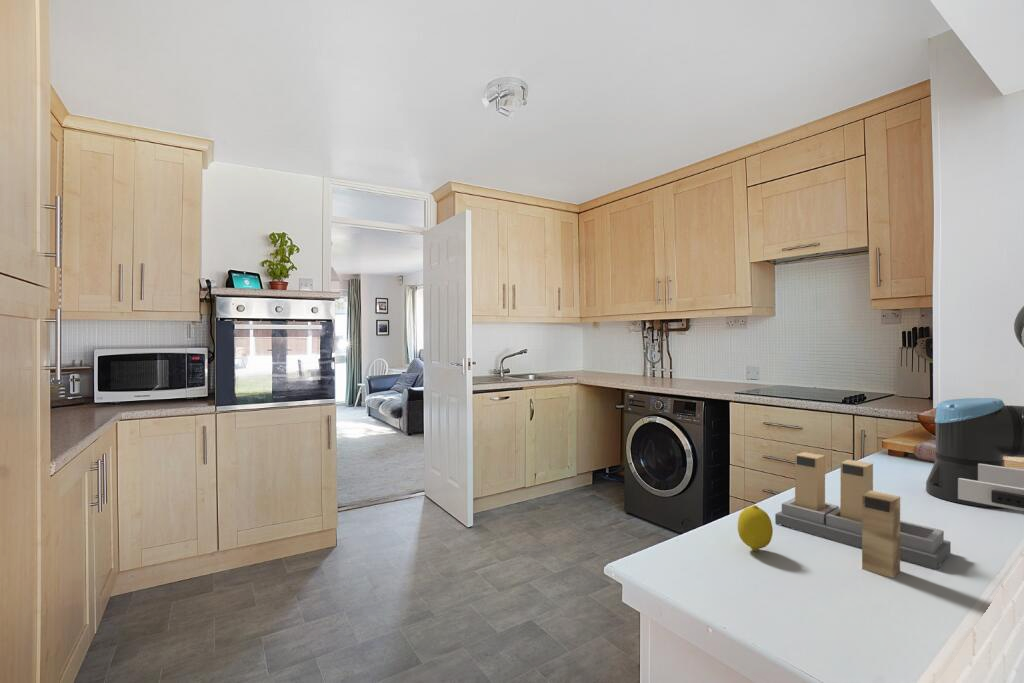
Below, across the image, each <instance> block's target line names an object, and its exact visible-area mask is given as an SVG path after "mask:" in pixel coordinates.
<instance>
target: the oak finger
mask: <svg viewBox="0 0 1024 683" xmlns="http://www.w3.org/2000/svg"><path fill="white" fill-rule="evenodd" d="M900 520H901V496H900V495H896V494H889V493H885V492H881V491H875V490H873V491H871V490H870V491H869V492H867V493H865V494H863V495H862V548H861V555H862V556H861V557H862V558H861V563H862V564H861V569H862V570H864V571H868V572H871V573H875V574H878V575H881V576H885V577H888V578H890V579H893V578H894V577H896V576H897V574H898V573H899V572H900V571H901V560H900Z"/></svg>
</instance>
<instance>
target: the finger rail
mask: <svg viewBox="0 0 1024 683" xmlns="http://www.w3.org/2000/svg"><path fill="white" fill-rule="evenodd" d="M794 457H795V458H794V462H795V463H794V475H795V476H794V478H795V479H794V497H793V498H791V499H789V500H787V501H785V502H782V503H781V511H779V512H777V513H775V516H774V517H775V518H774V519H775V521H774V522H775V523H777V524H776V525H778V524H781V525H784V526H783V527H785V526H787V527H786V528H788V527H791V528H790V529H792V528H794V529H793V530H795V529H797V530H796V531H799V530H801V531H800V532H802V531H804V533H806V532H807V534H809V533H811V534H810V535H813V534H814V536H816V535H818V536H817V537H820V536H821V538H823V537H825V538H824V539H827V538H828V540H830V539H831V541H834V542H838V543H841V544H845V545H848V546H852V547H856V548H859V549H862V495H863V494H865V493H867V492H869V491H870V490H871V491H874V463H871V462H865V461H859V460H853V459H846V460H843V461H841V462H840V497H839V498H840V504H839V505H840V507H839V505H836V504H832V503H827V502H826V455H825V454H824V455H822V454H818V453H813V452H806V451H803V452H800V453H795V455H794ZM775 523H774V524H775ZM781 525H780V526H781ZM944 531H945V530H942V529H937V528H934V527H930V526H927V525H921V524H918V523H913V522H908V521H905V520H901V519H900V561H905V562H908V563H911V564H915V565H918V566H922V567H926V568H929V569H932V570H935V571H936V570H937V569H938V568H939V567H940V566H941V565H942V563H943V562H945V560H946V559H947V558H946V557H947V556H948V557H949V556H950V554H951V551H952V550H951V549H952V547H951V543H952V542H951V541H950V540H945V539H944V538H945V536H944V535H945V534H944ZM940 564H941V565H940Z"/></svg>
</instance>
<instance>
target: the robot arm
mask: <svg viewBox="0 0 1024 683" xmlns="http://www.w3.org/2000/svg"><path fill="white" fill-rule="evenodd" d="M1013 328H1014V335H1015V337H1016V339H1017V341H1018V342H1019V344H1020V345H1021V346H1022V347H1023V348H1024V305H1023V306H1022V307H1021V308H1020V310H1019V311H1018V313H1016V317H1015V319H1014V323H1013ZM934 423H935V460H934V463H933V465H932V467H931V470H930V472H929V475H928V477H927V479H926V482H925V491H926V493H928V494H929V495H931V496H932V497H935V498H939V499H941V500H945V501H948V502H953V503H957V504H962V505H968V506H969V505H970V506H974V507H980V508H981V507H983V508H995V509H996V508H998V509H999V508H1000V509H1002V508H1004V509H1009V510H1010V509H1011V510H1015V511H1020V512H1024V469H1022V468H1014V467H1013V468H1012V467H1006V466H1004V457H1010V458H1011V457H1012V458H1023V459H1024V405H1012V404H1011V405H1007V404H1006V405H1005V403H1004V400H1002V399H1000V398H996V397H995V398H991V397H968V398H967V397H965V398H953V399H948V400H943V401H941V402H939V403H938V404H937V405H936V409H935V417H934Z"/></svg>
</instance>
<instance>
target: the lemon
mask: <svg viewBox="0 0 1024 683" xmlns="http://www.w3.org/2000/svg"><path fill="white" fill-rule="evenodd" d="M773 529H774V528H773V524H772V520H771V517H770V516H769V515H768V513H767V512H766V511H765V510H764V509H762V508H761V507H758V505H755V504H753V505H751V506H749V507H746V508H744V509H743V510H742V511H741V512H740V513H739V517H738V520H737V532H738V535H739V538H740V540H741V541H742V543H744V544H745V545H746V546H748V547H749V548H750V549H751V550H752V551H754V552H757V551H758V550H760V549H763V548H765V547H767V546H768V545H769V544H770V543H771V541H772V538H773V531H774V530H773Z"/></svg>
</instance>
